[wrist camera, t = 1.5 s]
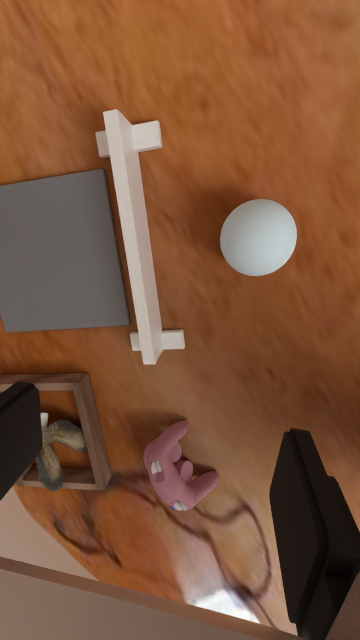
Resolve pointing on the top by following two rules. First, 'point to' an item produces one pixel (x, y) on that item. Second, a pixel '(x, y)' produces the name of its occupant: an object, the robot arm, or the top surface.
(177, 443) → the video game controller
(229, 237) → the rubber ball
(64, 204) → the mat
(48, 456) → the eagle figurine
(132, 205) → the divider wall
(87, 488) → the rim
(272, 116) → the top surface
